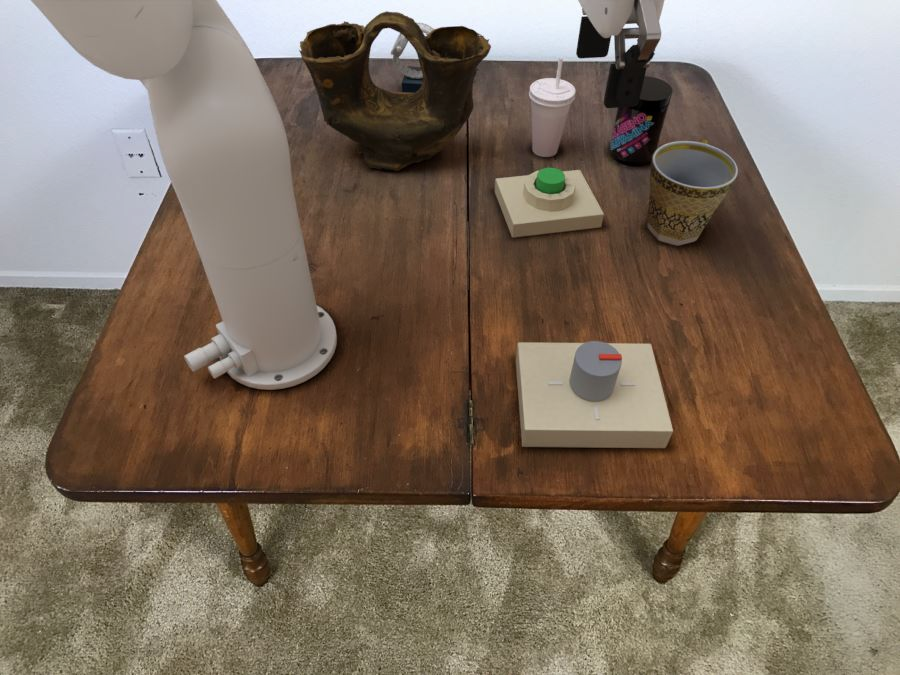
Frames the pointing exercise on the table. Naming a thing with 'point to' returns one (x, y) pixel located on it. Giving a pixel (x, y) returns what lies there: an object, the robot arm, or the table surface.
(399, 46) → the watch
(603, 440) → the control panel
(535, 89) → the smoothie
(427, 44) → the pottery vessel
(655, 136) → the supplement container
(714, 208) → the ceramic cup
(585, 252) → the table surface
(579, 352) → the program dial
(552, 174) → the button
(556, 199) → the block
